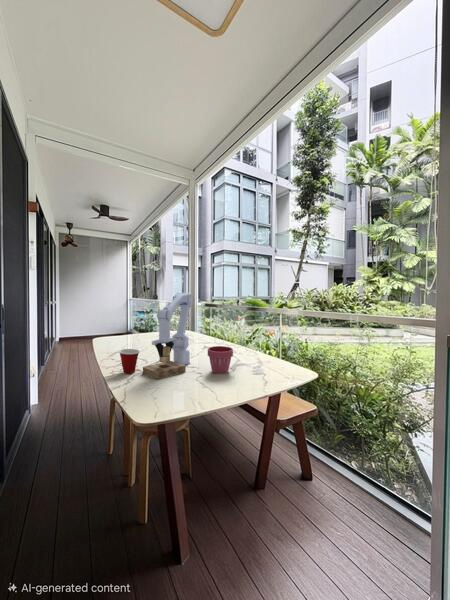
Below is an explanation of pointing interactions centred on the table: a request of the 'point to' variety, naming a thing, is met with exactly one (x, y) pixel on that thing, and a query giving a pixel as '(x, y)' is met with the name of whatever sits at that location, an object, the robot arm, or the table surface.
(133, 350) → the plastic cup
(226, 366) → the plant pot
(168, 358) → the oak peg
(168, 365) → the walnut socket block
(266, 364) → the table surface
